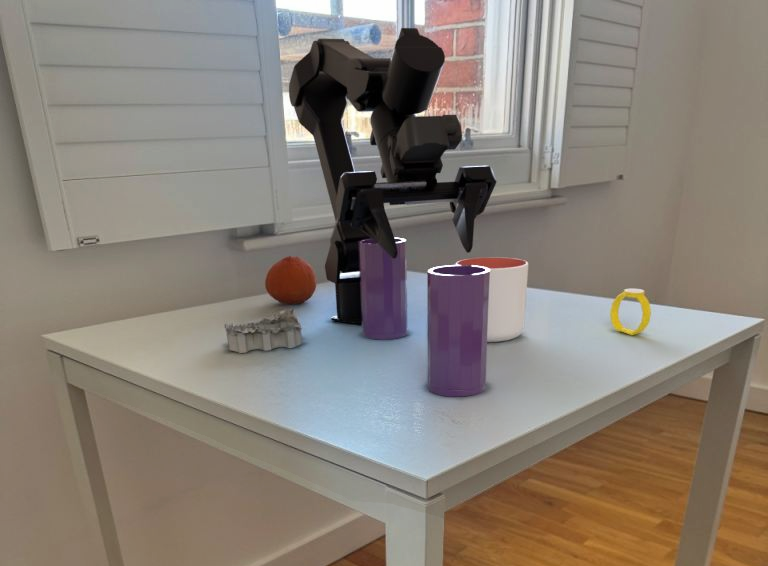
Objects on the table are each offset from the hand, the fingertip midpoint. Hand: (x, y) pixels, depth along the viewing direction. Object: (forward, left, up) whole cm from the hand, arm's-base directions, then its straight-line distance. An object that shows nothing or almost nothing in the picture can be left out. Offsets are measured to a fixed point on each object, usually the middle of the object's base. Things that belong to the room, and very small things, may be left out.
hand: (433, 253), depth 81 cm
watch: (+16, +28, -14) cm, 35 cm away
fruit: (-42, +23, -14) cm, 50 cm away
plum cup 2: (+6, -5, -14) cm, 16 cm away
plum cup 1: (-15, +12, -14) cm, 23 cm away
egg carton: (-27, -1, -14) cm, 30 cm away
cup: (-1, +18, -14) cm, 23 cm away
